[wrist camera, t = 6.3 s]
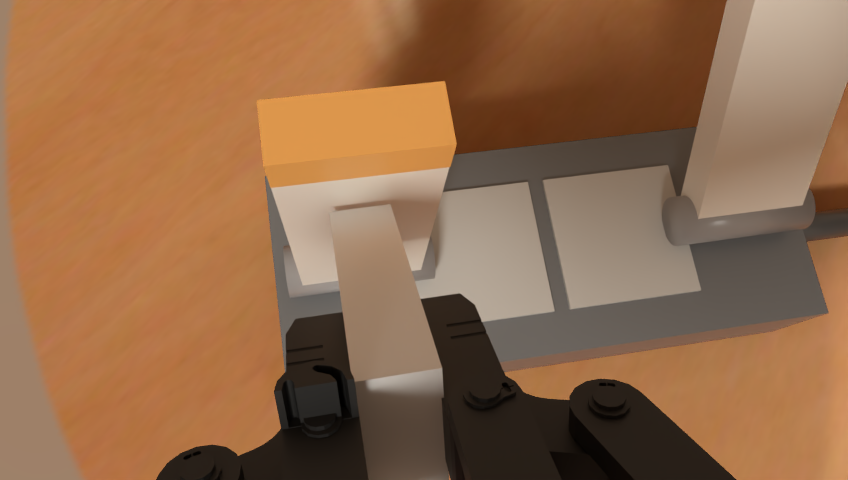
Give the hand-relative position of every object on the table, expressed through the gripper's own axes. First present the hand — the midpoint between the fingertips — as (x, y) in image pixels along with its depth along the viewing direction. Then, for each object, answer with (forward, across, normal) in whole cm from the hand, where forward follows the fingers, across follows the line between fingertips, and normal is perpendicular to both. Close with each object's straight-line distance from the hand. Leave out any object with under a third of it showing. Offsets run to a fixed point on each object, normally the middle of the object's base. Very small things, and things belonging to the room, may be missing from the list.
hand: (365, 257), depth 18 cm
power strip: (+10, -10, +7) cm, 16 cm away
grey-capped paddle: (+6, -14, +4) cm, 16 cm away
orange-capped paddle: (+6, 0, +4) cm, 7 cm away
